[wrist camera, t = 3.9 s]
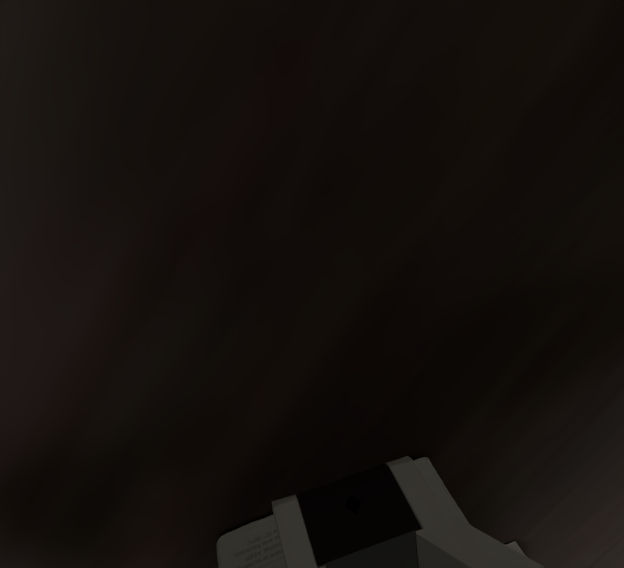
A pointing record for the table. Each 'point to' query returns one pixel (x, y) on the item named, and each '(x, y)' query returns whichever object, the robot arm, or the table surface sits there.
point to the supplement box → (265, 541)
